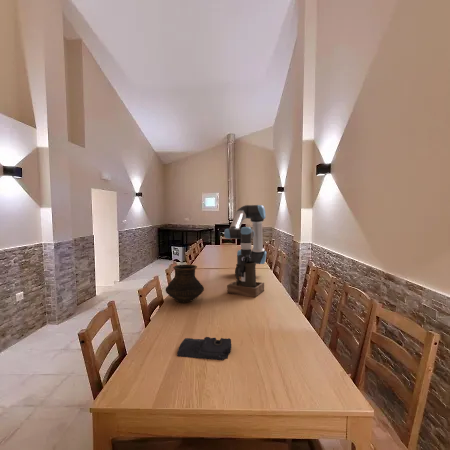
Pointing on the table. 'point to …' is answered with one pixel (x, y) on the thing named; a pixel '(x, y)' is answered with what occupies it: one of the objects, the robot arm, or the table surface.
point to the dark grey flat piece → (205, 348)
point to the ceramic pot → (184, 284)
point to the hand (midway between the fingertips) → (246, 279)
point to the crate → (245, 289)
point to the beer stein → (247, 275)
